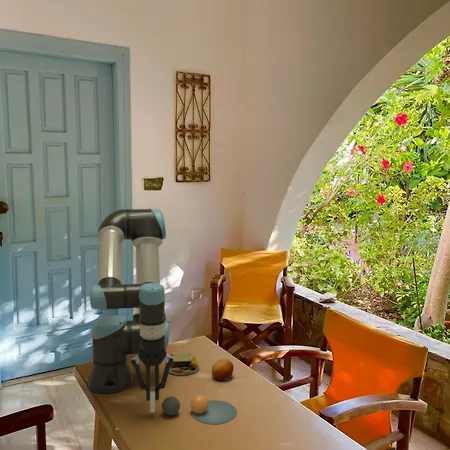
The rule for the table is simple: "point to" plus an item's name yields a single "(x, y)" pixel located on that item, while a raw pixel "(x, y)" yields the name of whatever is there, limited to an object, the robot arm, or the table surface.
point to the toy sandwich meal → (183, 364)
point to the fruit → (222, 369)
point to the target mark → (216, 413)
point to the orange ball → (199, 404)
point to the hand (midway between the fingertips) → (152, 409)
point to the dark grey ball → (171, 405)
